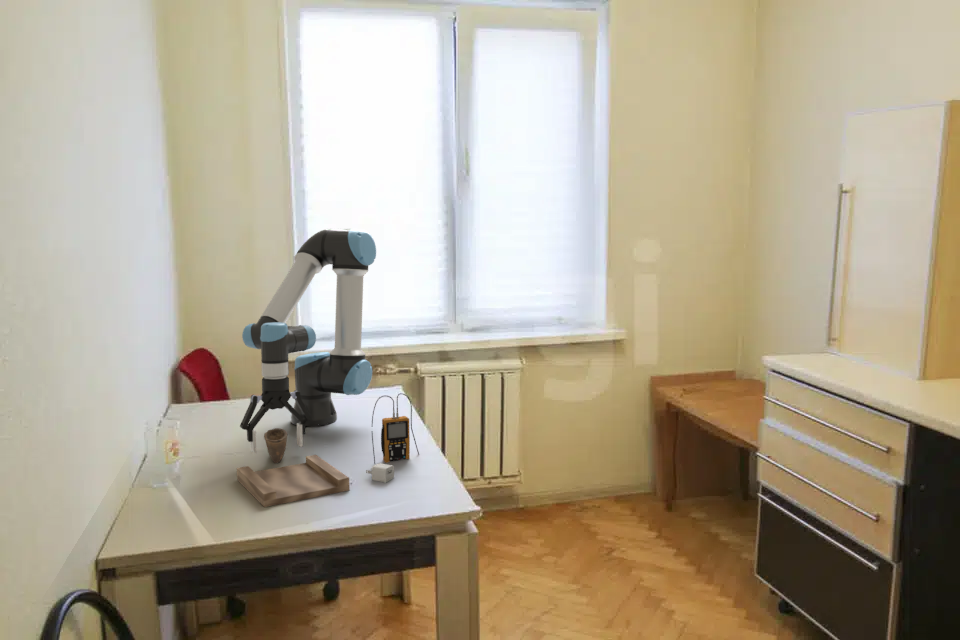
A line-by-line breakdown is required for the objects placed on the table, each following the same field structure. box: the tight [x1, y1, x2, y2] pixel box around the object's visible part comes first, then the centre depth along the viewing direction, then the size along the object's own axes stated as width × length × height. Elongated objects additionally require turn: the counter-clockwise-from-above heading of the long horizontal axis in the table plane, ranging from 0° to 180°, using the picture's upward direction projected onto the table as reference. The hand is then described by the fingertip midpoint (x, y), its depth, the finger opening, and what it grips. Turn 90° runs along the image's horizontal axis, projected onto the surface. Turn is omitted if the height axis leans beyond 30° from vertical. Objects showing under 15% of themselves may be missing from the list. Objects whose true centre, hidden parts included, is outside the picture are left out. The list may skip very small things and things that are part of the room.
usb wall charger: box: [365, 462, 395, 483], centre depth 204 cm, size 4×7×4 cm, turn 62°
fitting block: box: [236, 454, 351, 508], centre depth 200 cm, size 22×24×3 cm
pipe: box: [263, 427, 288, 464], centre depth 222 cm, size 6×17×10 cm, turn 10°
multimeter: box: [371, 393, 420, 465], centre depth 214 cm, size 15×10×20 cm
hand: (277, 449), depth 221 cm, fingers open, 13 cm apart
